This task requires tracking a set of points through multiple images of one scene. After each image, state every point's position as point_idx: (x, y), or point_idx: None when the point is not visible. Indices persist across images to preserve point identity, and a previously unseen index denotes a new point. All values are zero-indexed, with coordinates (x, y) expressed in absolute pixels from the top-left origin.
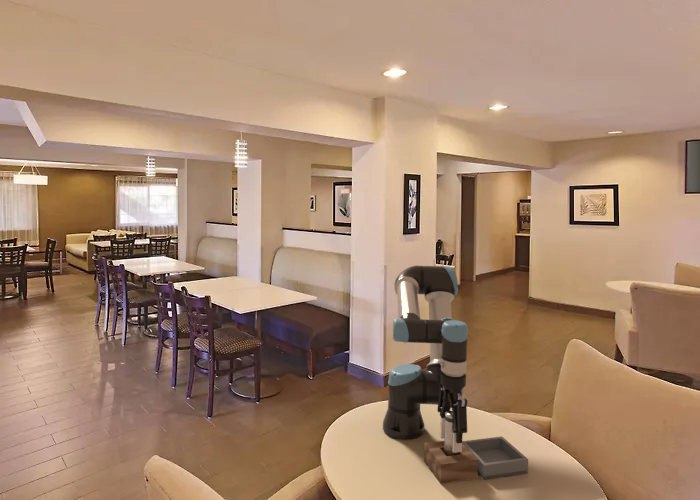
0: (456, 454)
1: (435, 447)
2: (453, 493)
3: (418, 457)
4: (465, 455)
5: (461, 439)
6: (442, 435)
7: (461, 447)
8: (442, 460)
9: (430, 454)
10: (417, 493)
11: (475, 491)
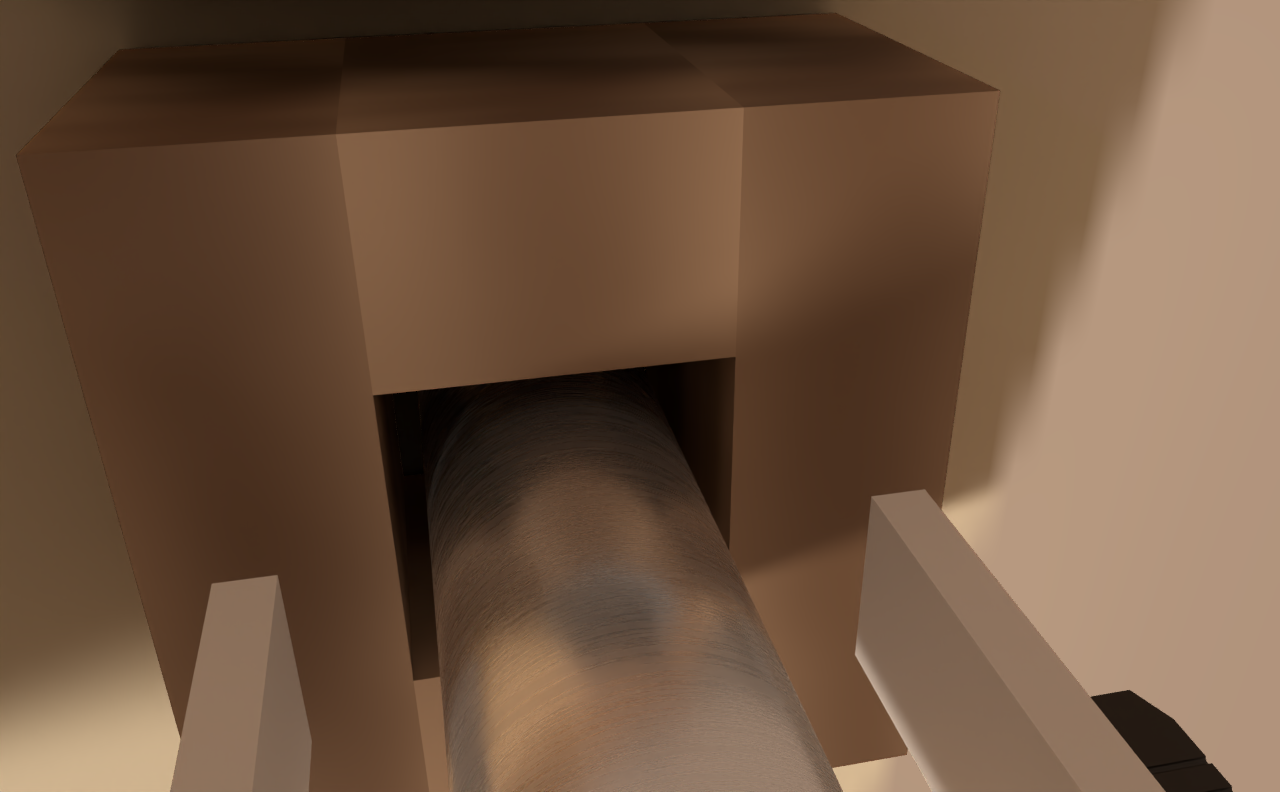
0: (668, 431)
1: (393, 739)
2: (988, 461)
3: (123, 676)
4: (789, 297)
5: (1203, 783)
6: (306, 783)
7: (973, 561)
8: (820, 718)
9: None
10: (859, 788)
11: (1058, 179)
